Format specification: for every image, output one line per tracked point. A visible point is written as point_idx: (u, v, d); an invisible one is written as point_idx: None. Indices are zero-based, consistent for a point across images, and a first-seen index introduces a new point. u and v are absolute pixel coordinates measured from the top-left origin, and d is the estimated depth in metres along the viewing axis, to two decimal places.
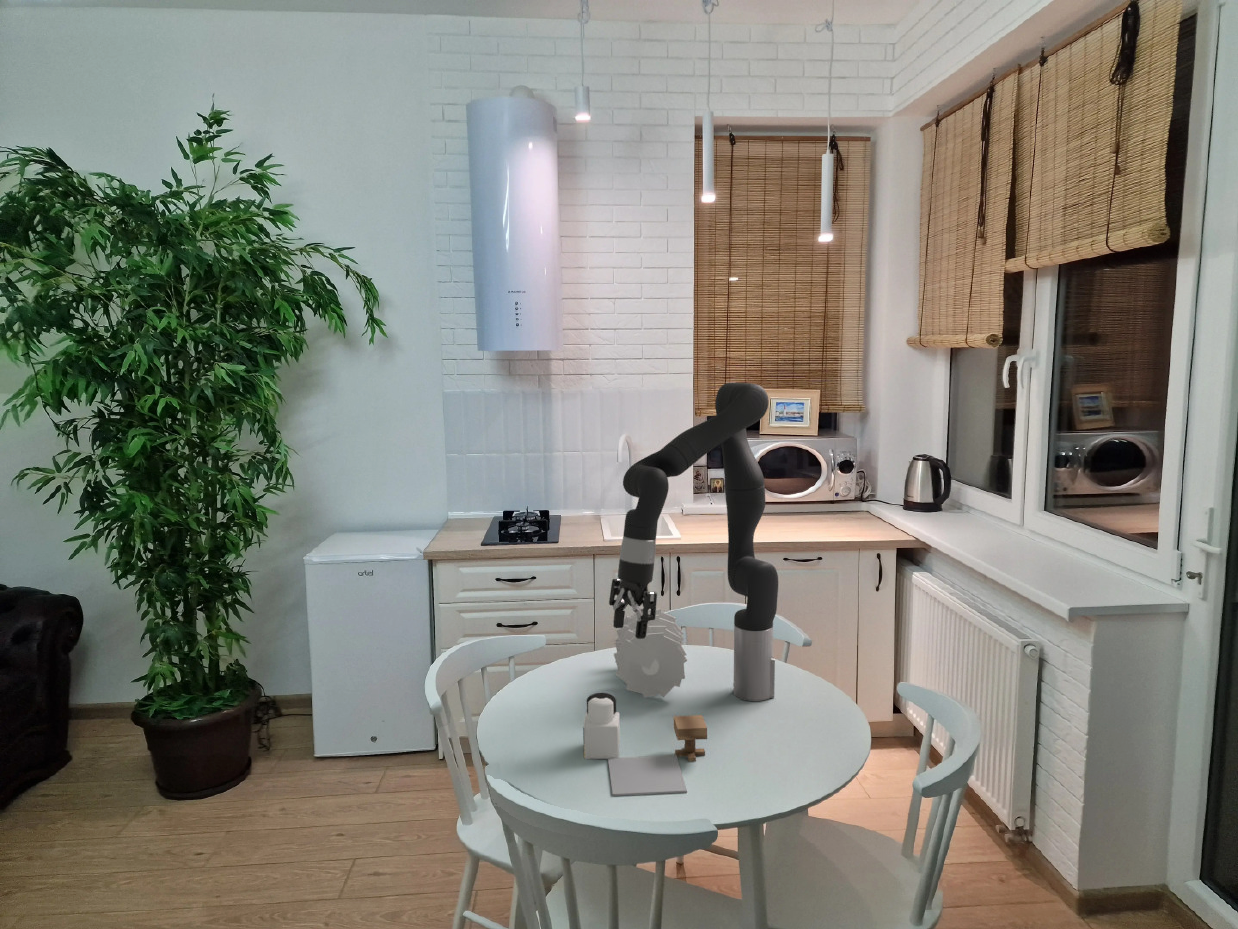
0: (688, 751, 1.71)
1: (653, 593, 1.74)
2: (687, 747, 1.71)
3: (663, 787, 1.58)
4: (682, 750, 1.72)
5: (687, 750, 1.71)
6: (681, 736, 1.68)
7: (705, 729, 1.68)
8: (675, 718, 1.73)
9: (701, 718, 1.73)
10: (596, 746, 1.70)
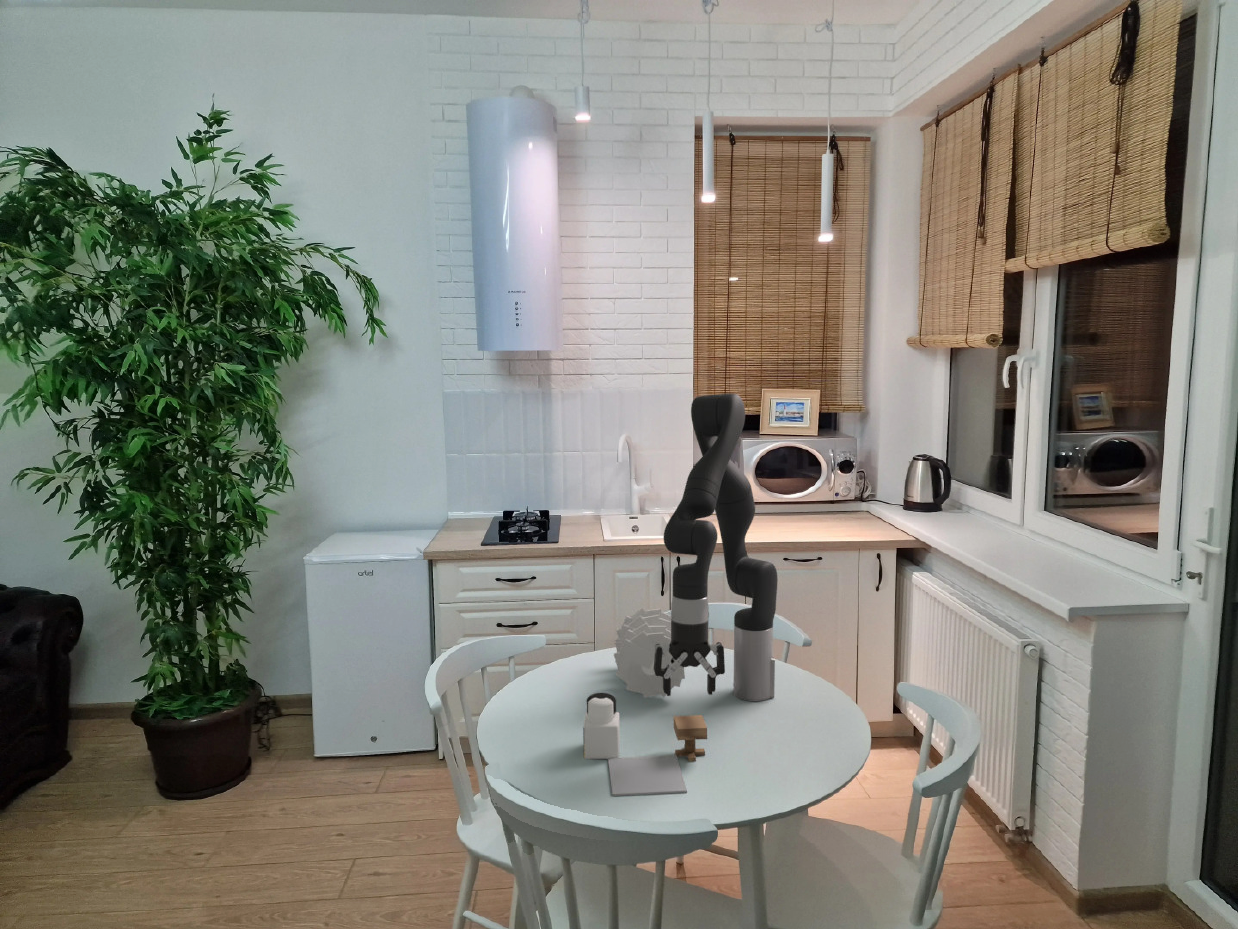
0: (688, 751, 1.71)
1: (720, 644, 1.70)
2: (687, 747, 1.71)
3: (663, 787, 1.58)
4: (682, 750, 1.72)
5: (687, 750, 1.71)
6: (681, 736, 1.68)
7: (705, 729, 1.68)
8: (675, 718, 1.73)
9: (701, 718, 1.73)
10: (596, 746, 1.70)
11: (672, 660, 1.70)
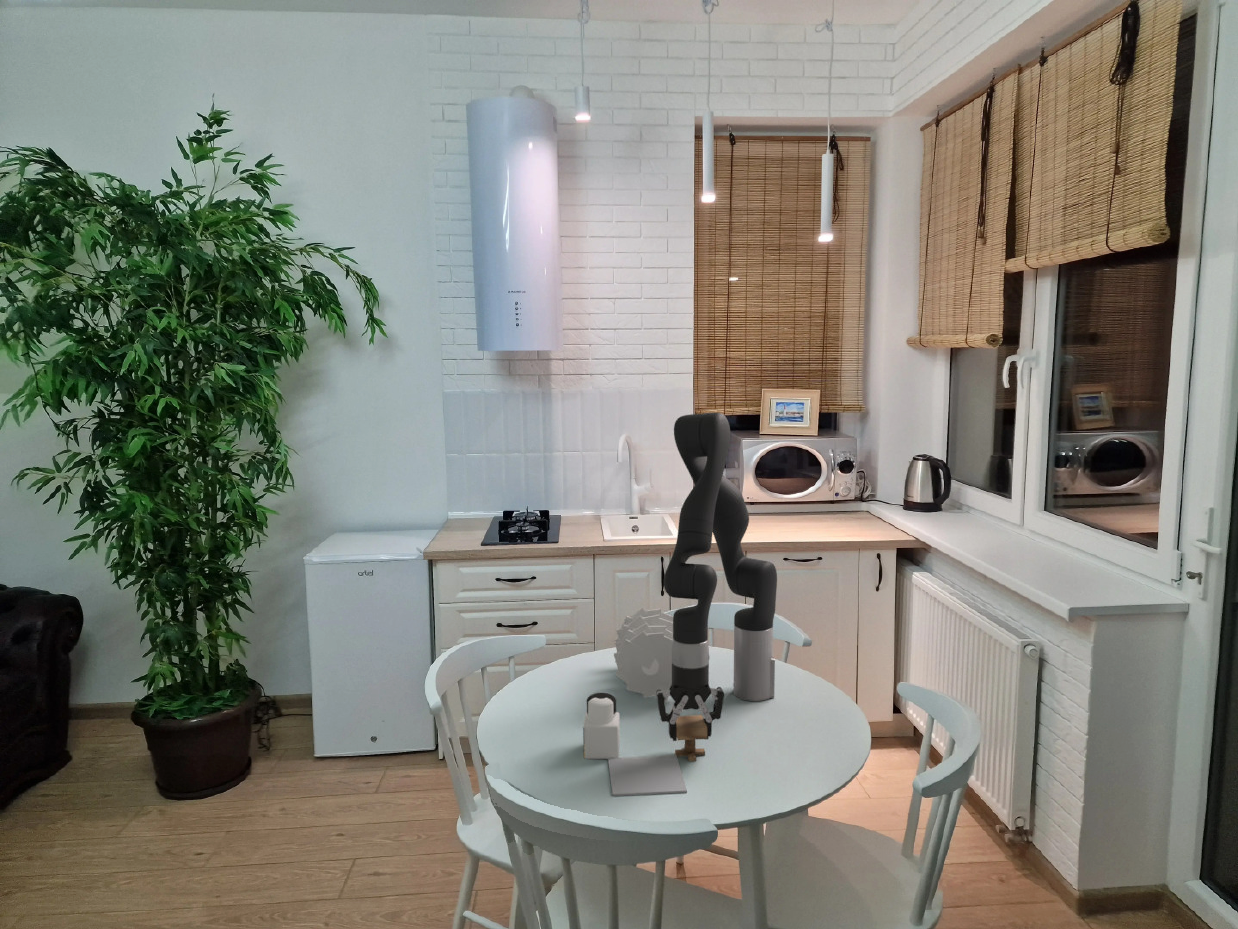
0: (688, 751, 1.71)
1: (721, 690, 1.71)
2: (687, 747, 1.71)
3: (663, 787, 1.58)
4: (682, 750, 1.72)
5: (687, 750, 1.71)
6: (681, 736, 1.68)
7: (705, 729, 1.68)
8: None
9: (701, 718, 1.73)
10: (596, 746, 1.70)
11: (675, 704, 1.72)
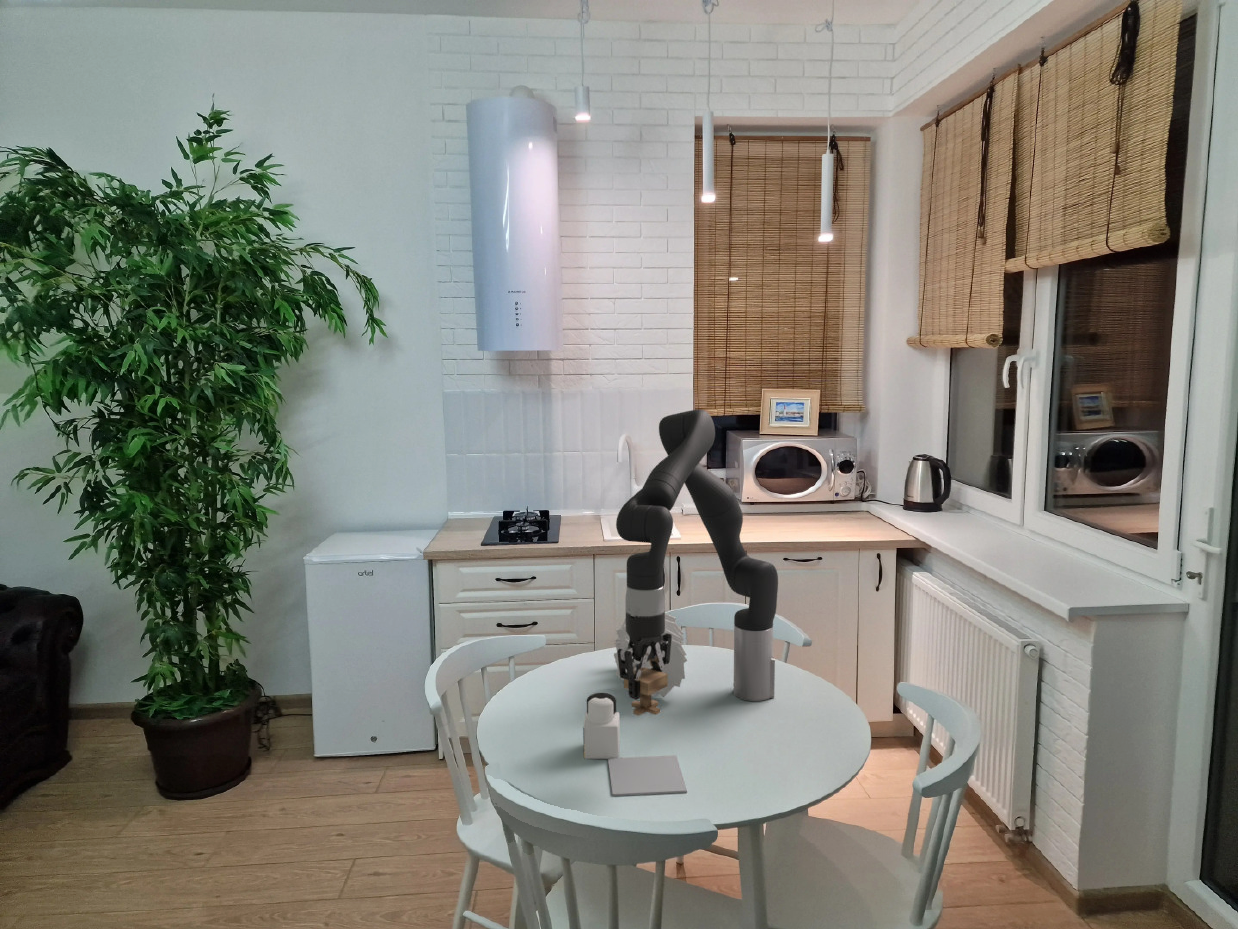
0: (648, 706, 1.61)
1: None
2: (647, 702, 1.60)
3: (663, 787, 1.58)
4: (639, 707, 1.61)
5: (647, 705, 1.60)
6: (650, 690, 1.57)
7: (666, 676, 1.61)
8: None
9: (648, 669, 1.64)
10: (596, 746, 1.70)
11: (631, 660, 1.59)
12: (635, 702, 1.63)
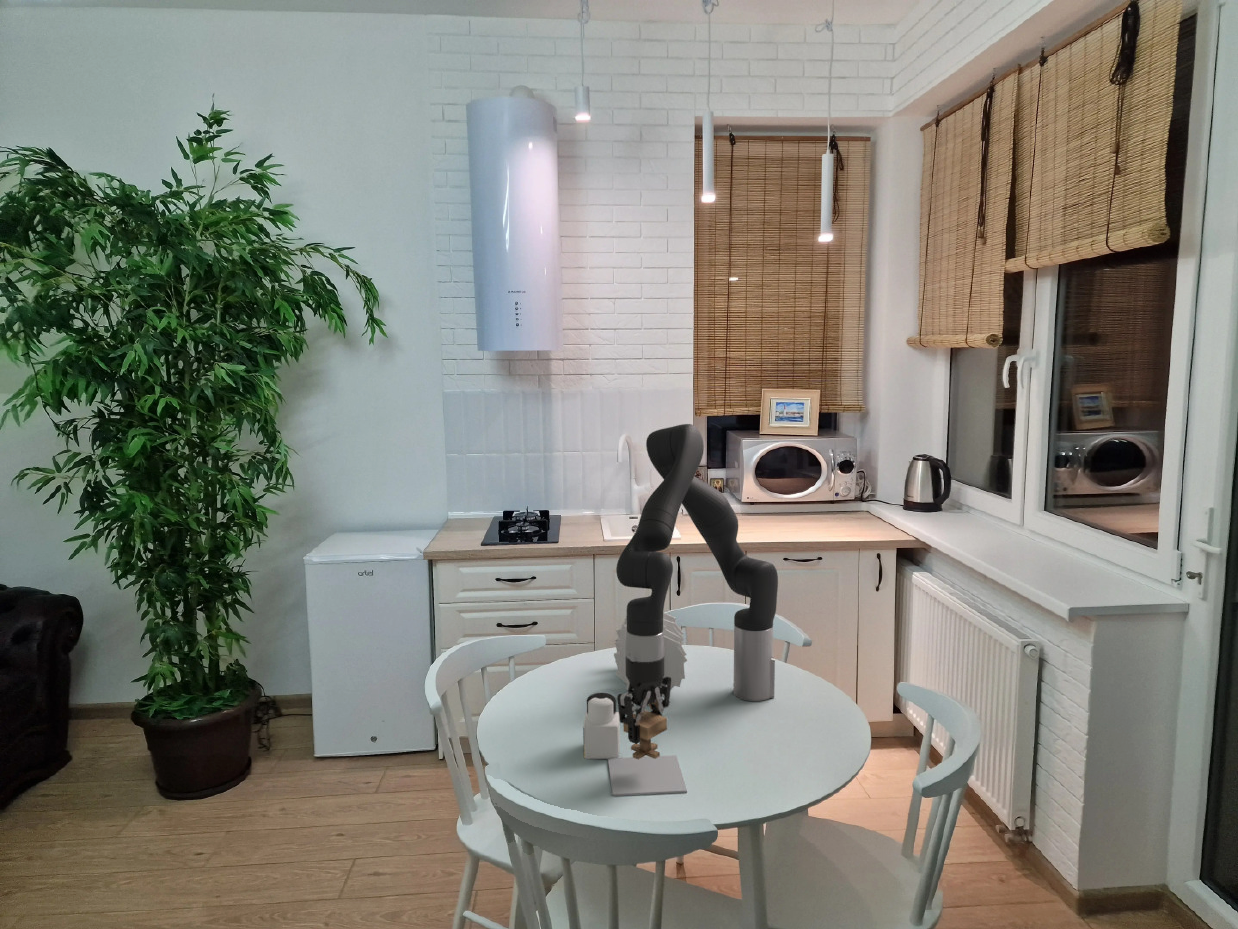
0: (647, 749, 1.62)
1: None
2: (646, 745, 1.62)
3: (663, 787, 1.58)
4: (639, 751, 1.62)
5: (646, 749, 1.62)
6: (650, 735, 1.59)
7: (665, 720, 1.62)
8: None
9: (647, 712, 1.65)
10: (596, 746, 1.70)
11: None
12: (635, 745, 1.64)
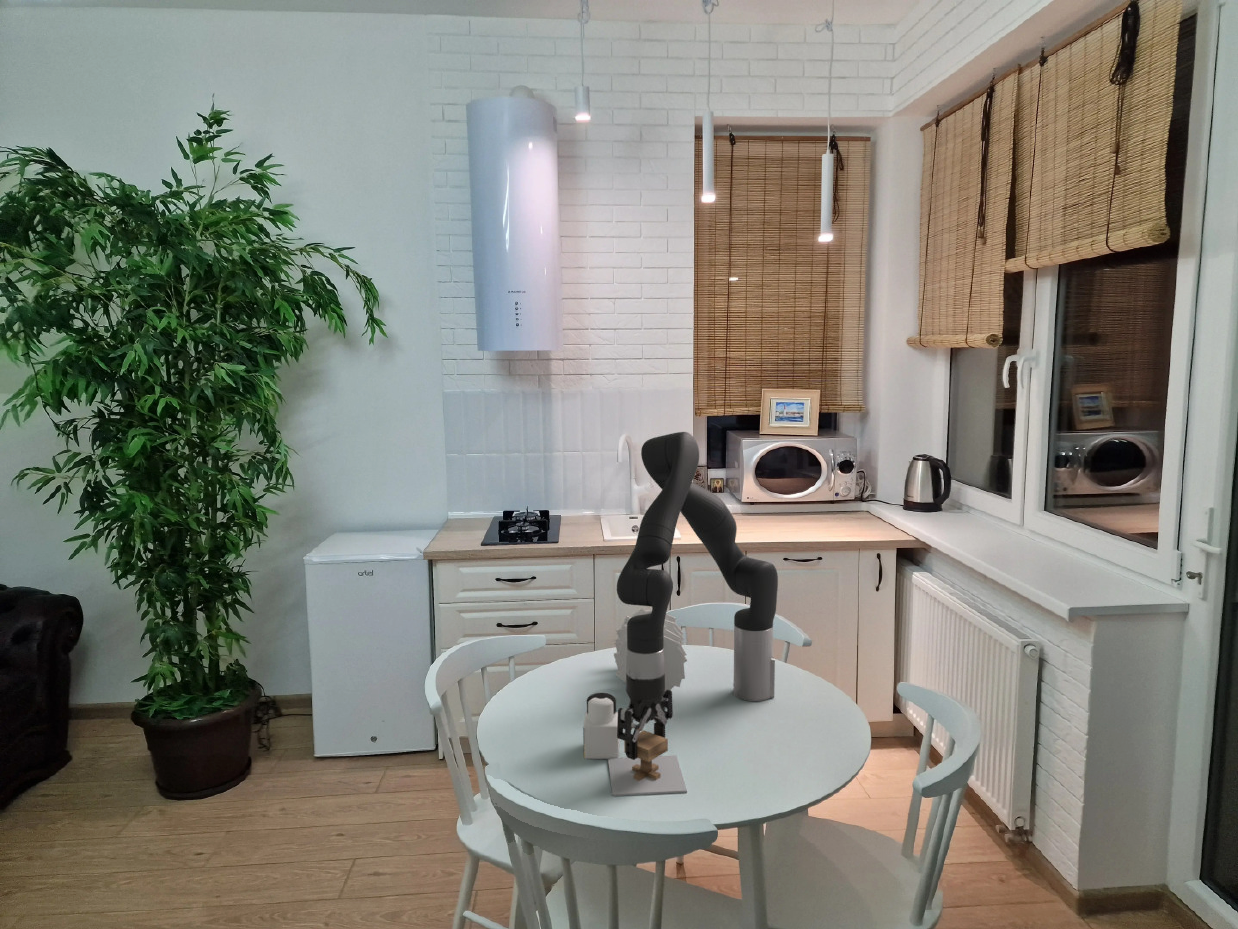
0: (648, 770, 1.62)
1: None
2: (647, 767, 1.62)
3: (663, 787, 1.58)
4: (640, 772, 1.62)
5: (647, 770, 1.62)
6: (651, 756, 1.59)
7: (666, 741, 1.62)
8: None
9: (648, 733, 1.65)
10: (596, 746, 1.70)
11: None
12: (636, 766, 1.65)
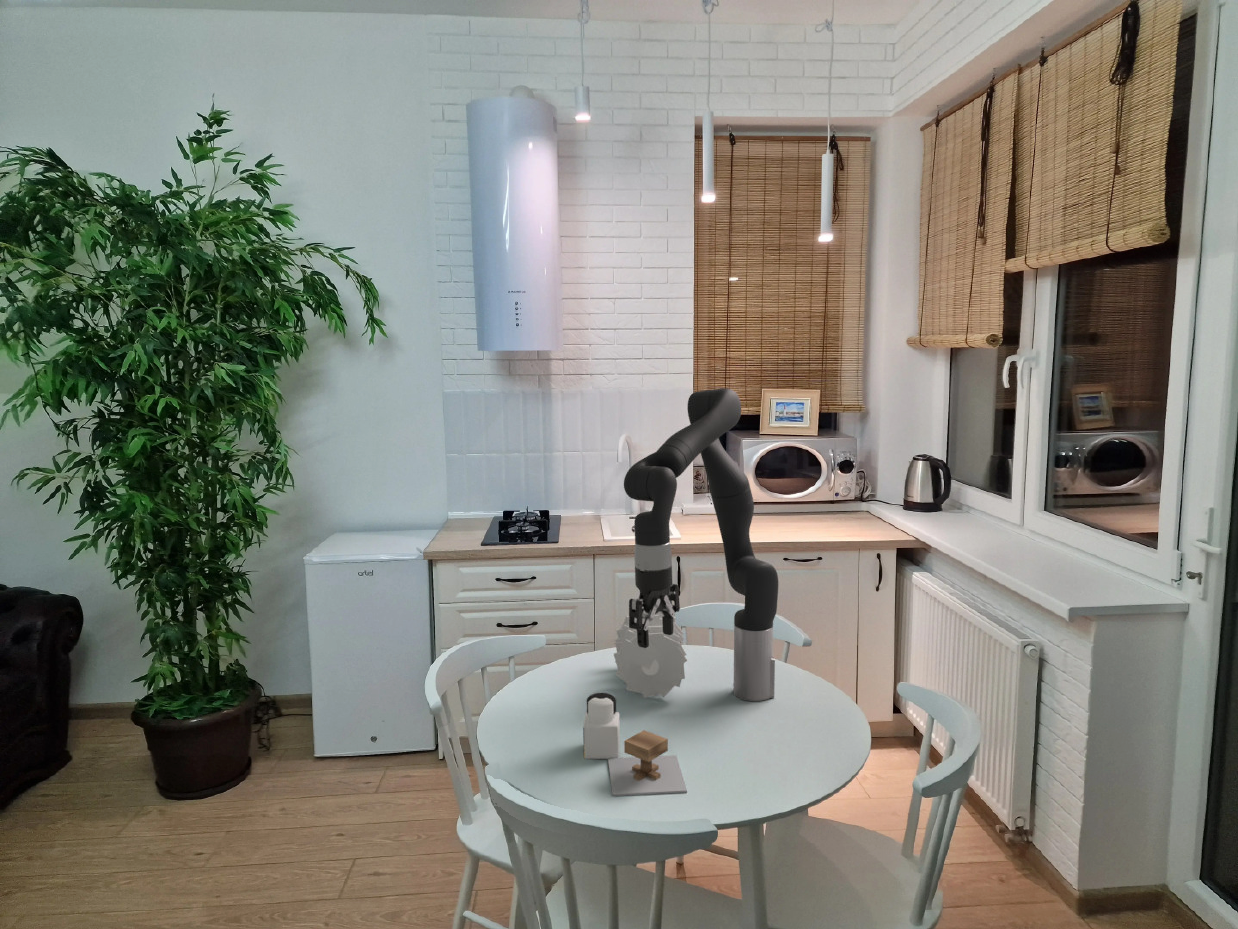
0: (648, 770, 1.62)
1: None
2: (647, 767, 1.62)
3: (663, 787, 1.58)
4: (640, 772, 1.62)
5: (647, 770, 1.62)
6: (651, 756, 1.59)
7: (666, 741, 1.62)
8: (628, 741, 1.62)
9: (648, 733, 1.65)
10: (596, 746, 1.70)
11: None
12: (636, 766, 1.65)
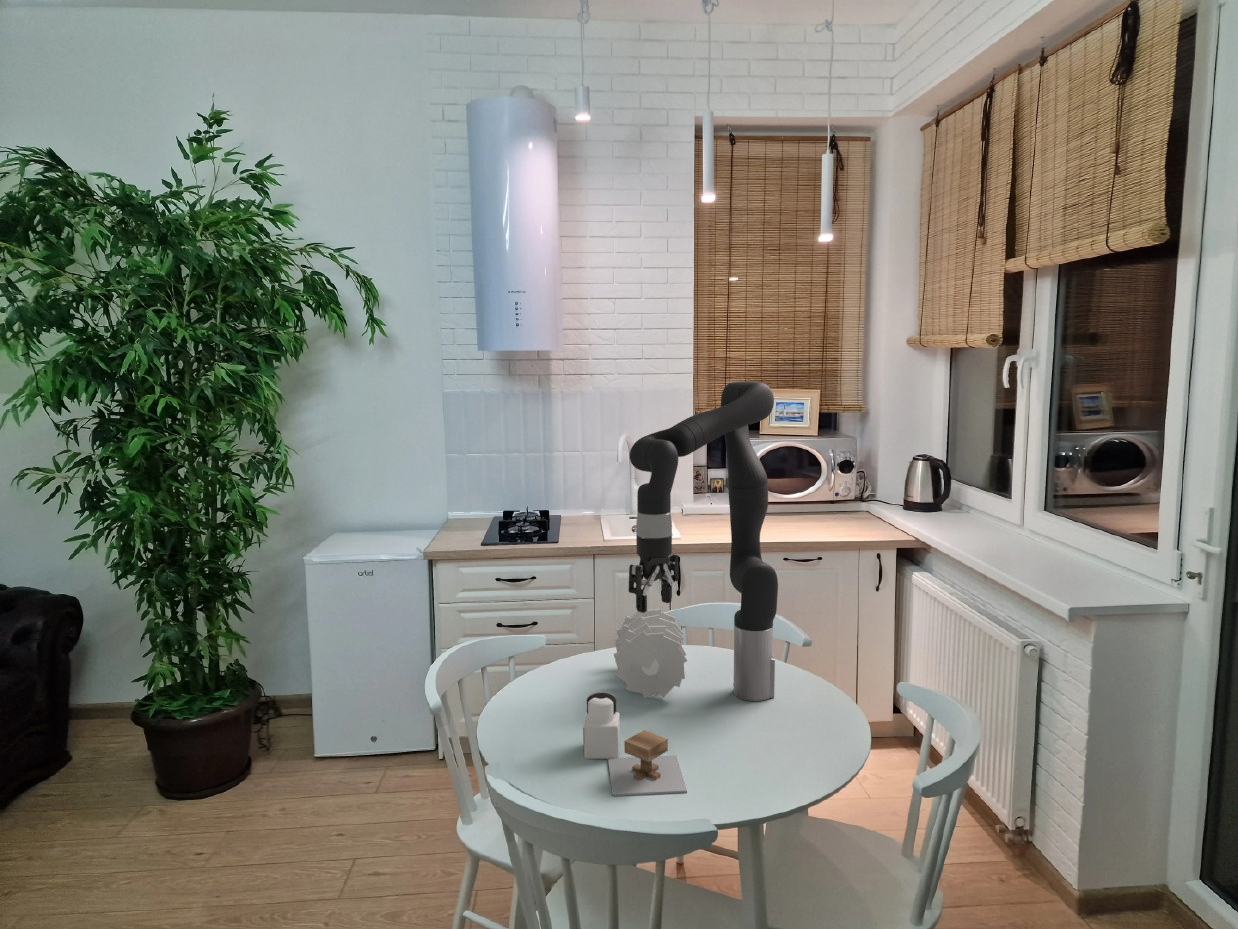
0: (648, 770, 1.62)
1: None
2: (647, 767, 1.62)
3: (663, 787, 1.58)
4: (640, 772, 1.62)
5: (647, 770, 1.62)
6: (651, 756, 1.59)
7: (666, 741, 1.62)
8: (628, 741, 1.62)
9: (648, 733, 1.65)
10: (596, 746, 1.70)
11: None
12: (636, 766, 1.65)
